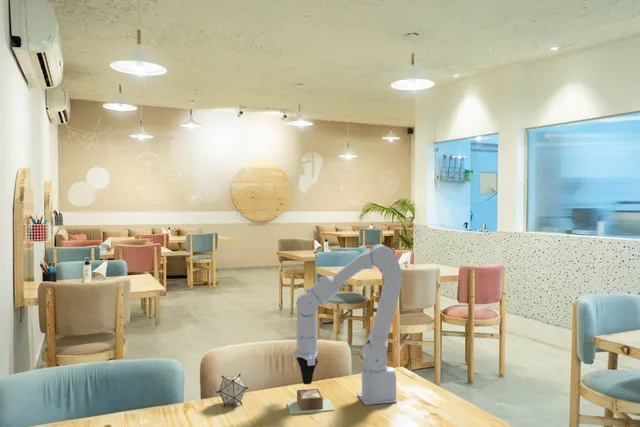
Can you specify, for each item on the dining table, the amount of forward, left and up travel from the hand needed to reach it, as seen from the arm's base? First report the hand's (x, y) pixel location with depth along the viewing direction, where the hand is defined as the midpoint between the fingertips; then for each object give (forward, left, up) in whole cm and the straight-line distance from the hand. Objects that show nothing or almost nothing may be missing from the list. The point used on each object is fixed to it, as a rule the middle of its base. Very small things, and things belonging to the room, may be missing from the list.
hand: (307, 383), depth 142 cm
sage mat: (0, +5, -5) cm, 7 cm away
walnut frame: (0, 0, -3) cm, 3 cm away
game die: (+21, -2, -5) cm, 22 cm away
